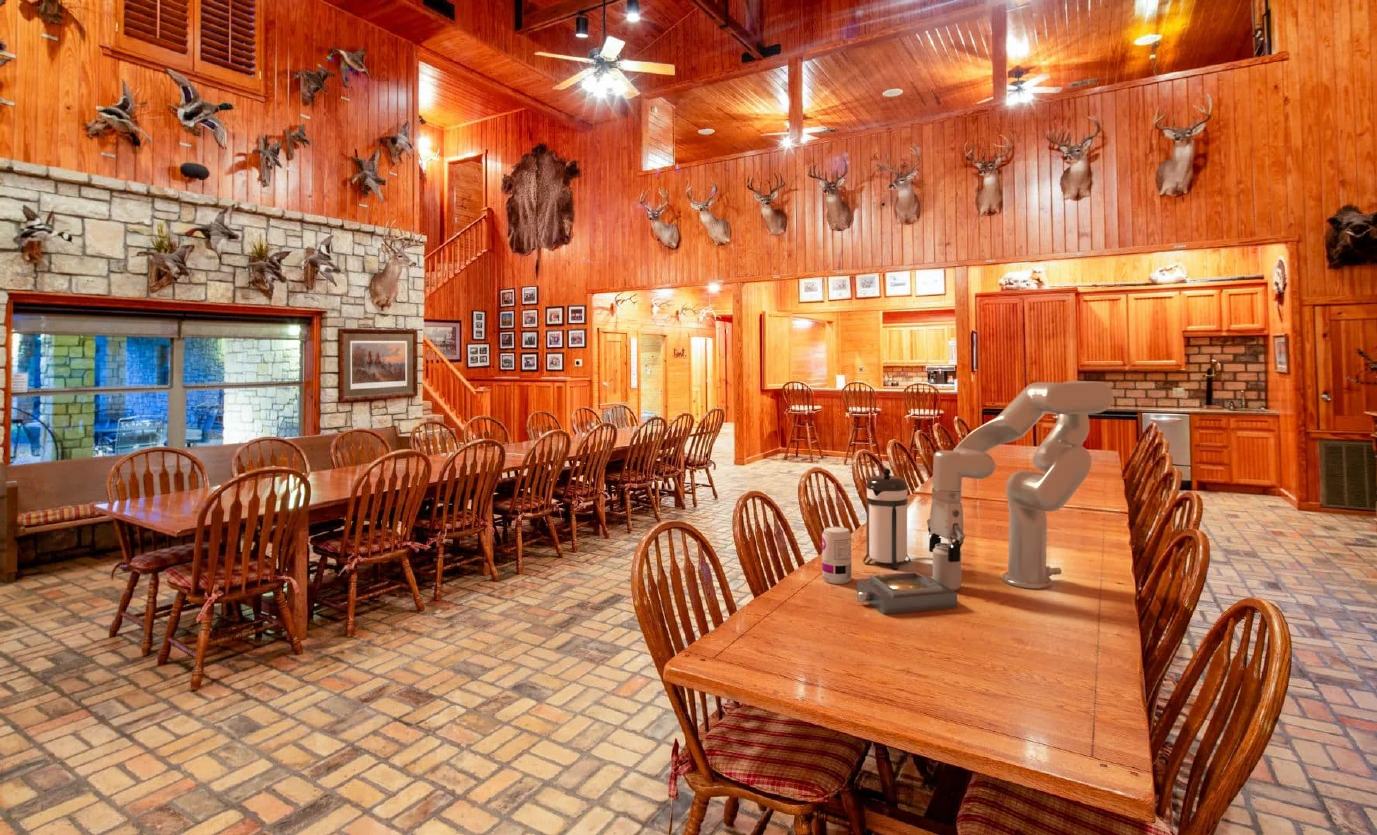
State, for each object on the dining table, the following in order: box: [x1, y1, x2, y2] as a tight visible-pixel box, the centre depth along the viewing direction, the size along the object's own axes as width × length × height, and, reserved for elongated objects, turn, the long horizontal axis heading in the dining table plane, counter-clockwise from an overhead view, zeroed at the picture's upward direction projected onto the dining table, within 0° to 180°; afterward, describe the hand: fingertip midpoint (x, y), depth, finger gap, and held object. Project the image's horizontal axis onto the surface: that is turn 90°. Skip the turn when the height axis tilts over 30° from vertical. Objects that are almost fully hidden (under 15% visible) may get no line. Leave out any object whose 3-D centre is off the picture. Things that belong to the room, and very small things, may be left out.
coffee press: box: [862, 467, 912, 570], centre depth 211 cm, size 17×16×30 cm
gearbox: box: [856, 571, 958, 616], centre depth 178 cm, size 23×16×5 cm
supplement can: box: [821, 526, 852, 585], centre depth 195 cm, size 8×8×15 cm
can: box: [932, 542, 962, 592], centre depth 187 cm, size 8×8×12 cm
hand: (944, 556), depth 187 cm, fingers open, 9 cm apart
